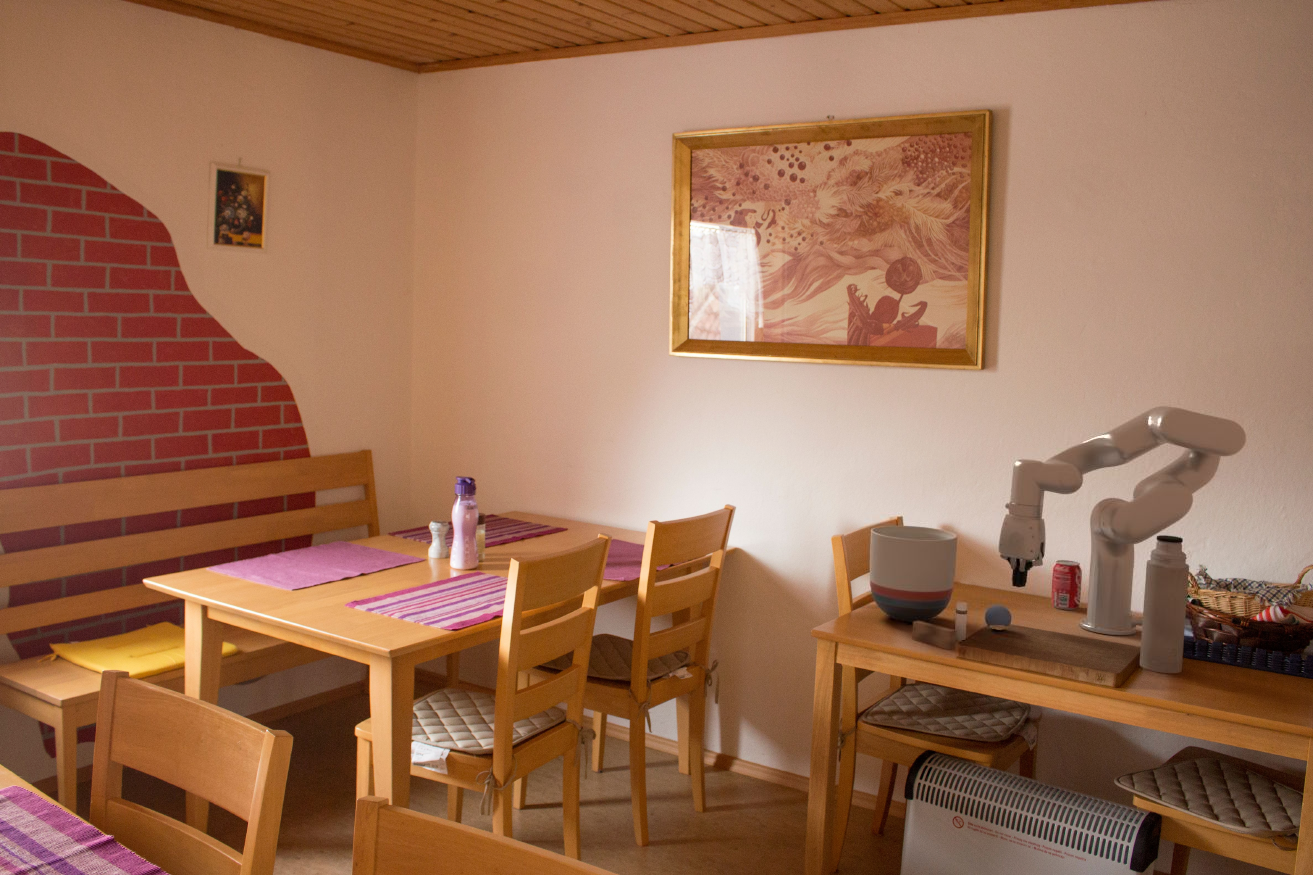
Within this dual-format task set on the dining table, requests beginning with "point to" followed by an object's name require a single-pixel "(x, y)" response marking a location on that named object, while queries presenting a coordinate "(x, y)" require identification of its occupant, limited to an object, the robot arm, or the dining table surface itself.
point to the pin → (961, 620)
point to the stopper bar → (934, 635)
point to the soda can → (1066, 585)
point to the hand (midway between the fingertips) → (1018, 586)
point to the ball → (998, 616)
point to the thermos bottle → (1164, 607)
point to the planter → (912, 571)
